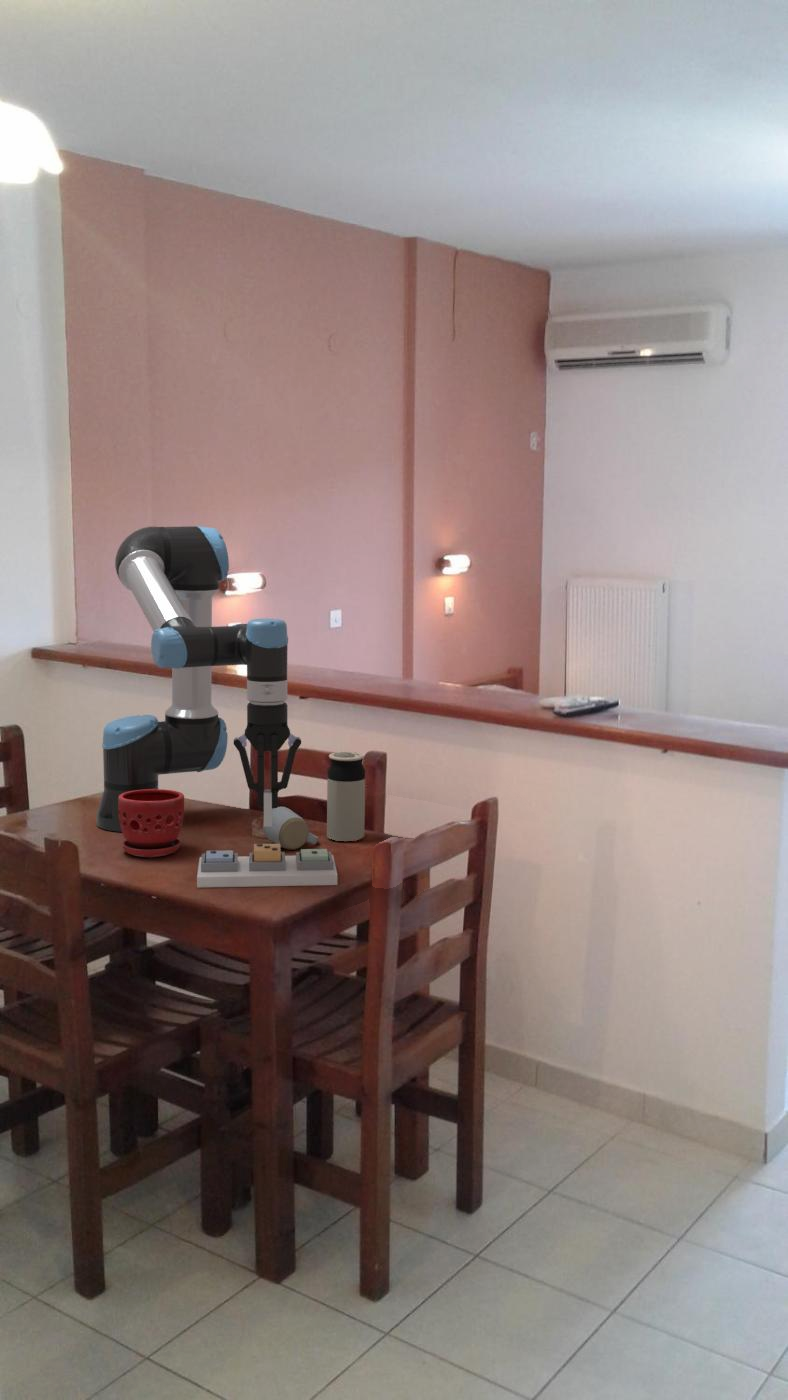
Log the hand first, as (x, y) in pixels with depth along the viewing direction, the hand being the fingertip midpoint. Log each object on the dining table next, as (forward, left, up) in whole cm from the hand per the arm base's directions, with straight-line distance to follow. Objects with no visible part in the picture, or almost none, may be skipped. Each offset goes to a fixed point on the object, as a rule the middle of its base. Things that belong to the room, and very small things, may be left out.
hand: (267, 824), depth 240 cm
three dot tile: (0, 0, -7) cm, 7 cm away
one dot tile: (0, +9, -8) cm, 12 cm away
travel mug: (-26, +17, -10) cm, 33 cm away
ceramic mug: (-21, +5, -11) cm, 24 cm away
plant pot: (-18, -23, -10) cm, 31 cm away
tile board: (0, 0, -10) cm, 10 cm away
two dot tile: (0, -9, -8) cm, 12 cm away
